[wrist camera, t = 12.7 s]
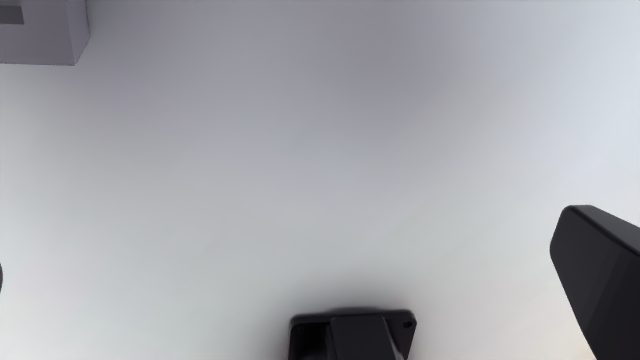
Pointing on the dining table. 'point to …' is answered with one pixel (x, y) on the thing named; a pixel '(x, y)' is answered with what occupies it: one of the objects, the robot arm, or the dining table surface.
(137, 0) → the dining table surface
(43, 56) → the tray
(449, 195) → the dining table surface
